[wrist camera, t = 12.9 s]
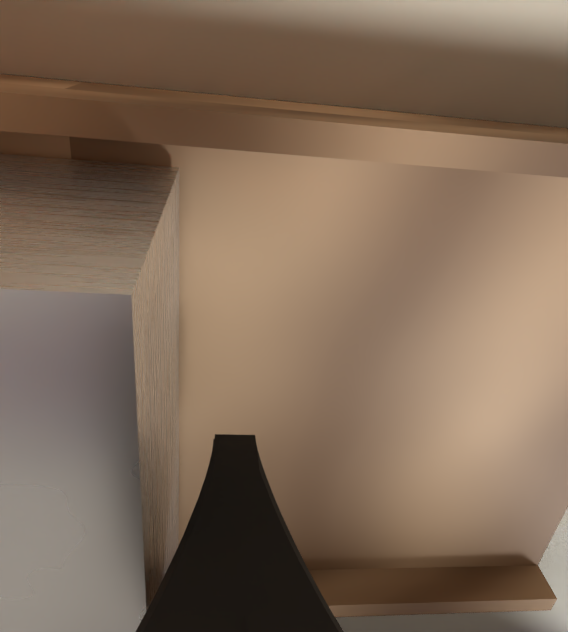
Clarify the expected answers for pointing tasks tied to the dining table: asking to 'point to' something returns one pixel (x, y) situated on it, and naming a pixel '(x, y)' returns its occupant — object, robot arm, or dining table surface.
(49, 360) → the housing cover
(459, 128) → the housing base
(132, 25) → the dining table surface
